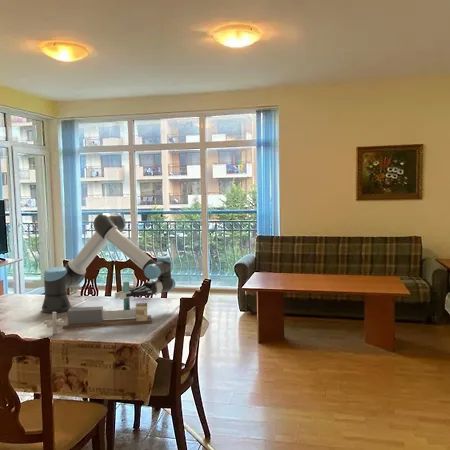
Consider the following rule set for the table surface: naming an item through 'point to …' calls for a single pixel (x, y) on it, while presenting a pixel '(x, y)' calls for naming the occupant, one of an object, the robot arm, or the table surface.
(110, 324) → the base board
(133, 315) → the bar with teal cylinder
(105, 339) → the table surface
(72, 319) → the outer sleeve
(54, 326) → the pipe connector
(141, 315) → the socket block
